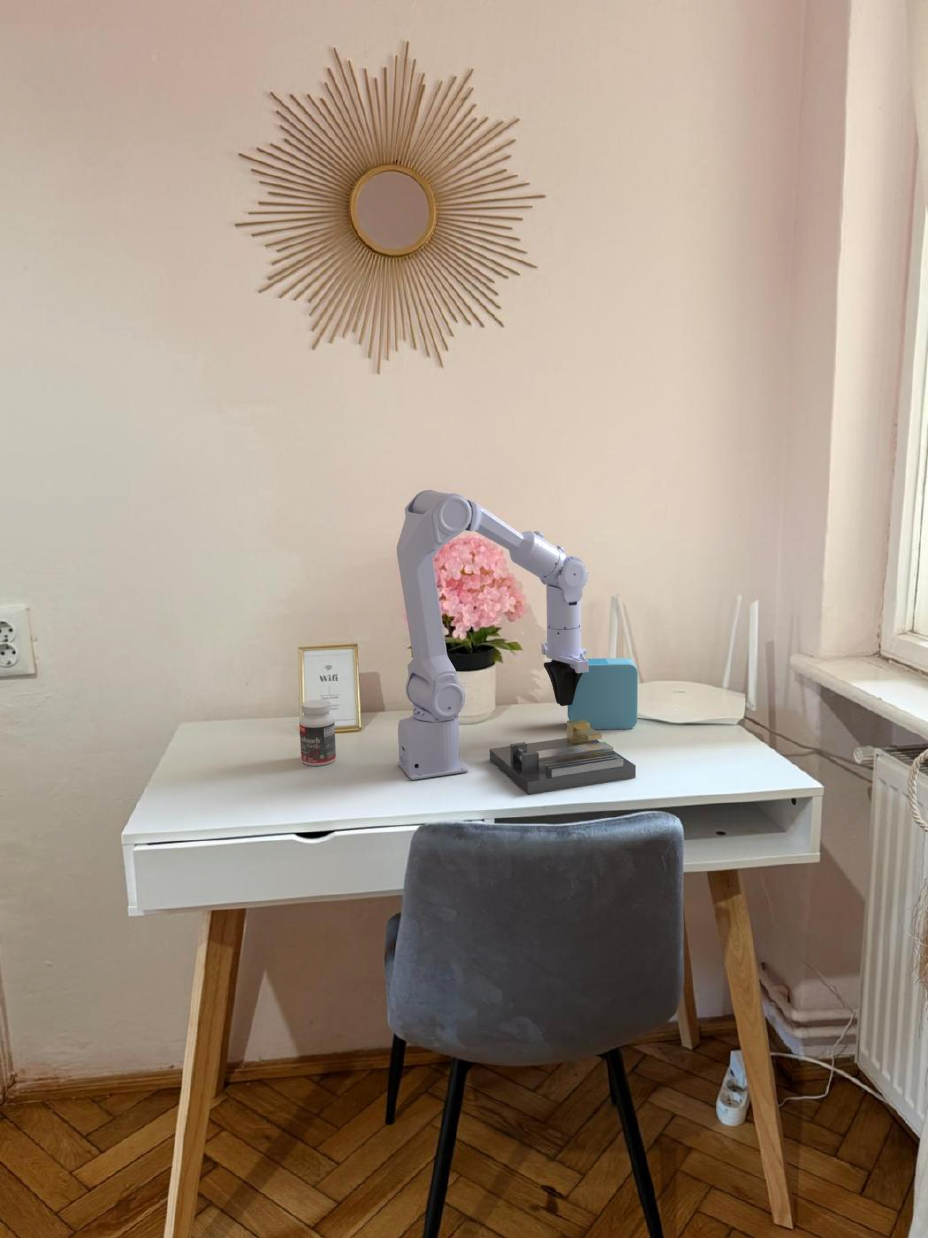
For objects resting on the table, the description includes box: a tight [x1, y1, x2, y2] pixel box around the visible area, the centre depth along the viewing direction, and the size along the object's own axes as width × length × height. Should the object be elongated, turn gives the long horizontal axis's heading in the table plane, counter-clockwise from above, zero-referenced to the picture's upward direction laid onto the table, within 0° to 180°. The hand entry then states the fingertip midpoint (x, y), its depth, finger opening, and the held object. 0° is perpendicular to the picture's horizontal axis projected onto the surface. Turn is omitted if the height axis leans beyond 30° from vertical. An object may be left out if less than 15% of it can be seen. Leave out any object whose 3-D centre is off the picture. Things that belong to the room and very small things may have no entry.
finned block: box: [489, 737, 637, 796], centre depth 159 cm, size 18×16×5 cm
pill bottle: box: [299, 699, 337, 767], centre depth 165 cm, size 6×6×10 cm
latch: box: [566, 719, 603, 744], centre depth 164 cm, size 3×7×3 cm, turn 19°
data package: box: [567, 657, 639, 731], centre depth 179 cm, size 12×4×12 cm, turn 89°
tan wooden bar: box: [517, 741, 614, 762], centre depth 157 cm, size 15×3×1 cm, turn 109°
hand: (564, 704), depth 170 cm, fingers closed
